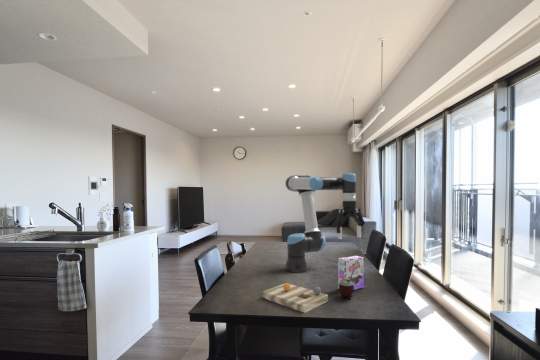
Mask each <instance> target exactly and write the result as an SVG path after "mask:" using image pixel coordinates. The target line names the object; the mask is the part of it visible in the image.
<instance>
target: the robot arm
mask: <svg viewBox="0 0 540 360" xmlns="http://www.w3.org/2000/svg"><path fill="white" fill-rule="evenodd" d="M284 184H285V187H286V189H287V191H290V192H296V193H298V196H299V197H301V198H300V199H301V204H302V211H303V218H304V219H303V220H304V227H305V231H304V232H299V233H291V234H290V235H288V236H287V240H286V241H287V242H286V243H287V245H286V246H287V259H286V263H285V266H284V270H285V271H286V272H290V273H304V272H307V271H308V270H309V266H308V263H307V260H306V253H307V254H309V253H317V252H321V251H323V250H324V249H325V247H326V243H327V242H326V237H325V234H323V233H322V231H321V230H320V229H319V226H318V219H317V211H316V205H315V199H314V195H315V194H316V191H342V194H341V196H342V197H341V199H342V201H341V202H342V209H341V208H340V209H338V210H337V216H336V217H335V219H334V223H333V227H336V233H337V239H339V240H343V227H342V225H343V224H344V222H345V221H346V219H347V218H352V219H353V220H354V221H355V223H356V224H357V225H356V238H362V231H363V227H364V225H365V224H366V222H365V219H364V218H363V216H362V215H363V214H362V213H361V209H360V208H357V201H356V200H357V176H356V174H355V173H351V172H350V173H348V172H347V173H342V176H339V177H335V176H334V177H326V176H325V177H323V176H321V177H320V176H313V175H308V174H307V175H299V174H298V175H295V174H294V175H290V176H288V177H287V178H286V179H285V183H284Z"/></svg>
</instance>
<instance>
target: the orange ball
mask: <svg viewBox="0 0 540 360" xmlns="http://www.w3.org/2000/svg"><path fill="white" fill-rule="evenodd" d="M283 284H284V285H283V289H284V290H285V291H289V290H290V285H289V284H290V283H288V282H286V283H283Z"/></svg>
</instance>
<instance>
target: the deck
mask: <svg viewBox="0 0 540 360" xmlns="http://www.w3.org/2000/svg"><path fill="white" fill-rule="evenodd" d="M284 284H285V283H282V284H279V285H277V286H274V287H272V288H268V289H266V290H263V291H262V299H266V300H267V301H271V302H273V303H276V304H279V305H281V306H285V307H286V308H287V307H288V308H290V309H293V310H294V311H295V310H296V311H298V312H301V313H302V314H303V313H304V314H306V313H309V311H312V310H314V309H316V308H319V306H321V305H324V304H326V303H328V302H329V295H328V294H326V293H323V292H321V293H320V294H319V295H316V294H315V293H314V291H313V290H314V289H309V288H306V287H301V286H298V285H294V284H292V283H288V284H289V285H290V290H289V291H285V290H284V289H283V285H284Z"/></svg>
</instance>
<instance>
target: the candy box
mask: <svg viewBox="0 0 540 360" xmlns="http://www.w3.org/2000/svg"><path fill="white" fill-rule="evenodd" d="M356 268H357V269H356ZM354 269H356V270H355V271H354V273H353V275H352V277H351V274H352V271H353V270H354ZM350 277H351V281H352V282H353V285H354V290H353V291H355V290H356V291H357V290H361V289H365V257H363V256H359V255H352V256H345V257H338V258H337V289H339V283H340V281H341V280H343V279H348V280H349V279H350Z"/></svg>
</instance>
